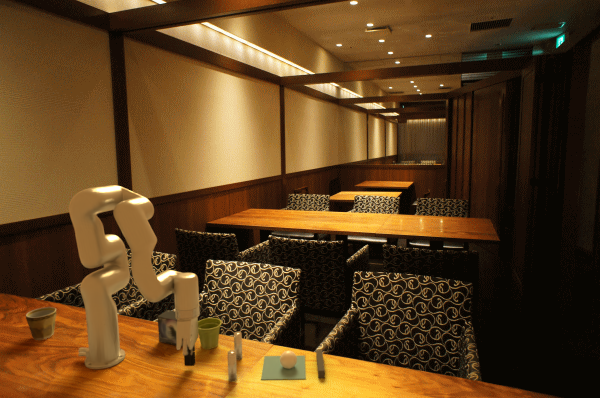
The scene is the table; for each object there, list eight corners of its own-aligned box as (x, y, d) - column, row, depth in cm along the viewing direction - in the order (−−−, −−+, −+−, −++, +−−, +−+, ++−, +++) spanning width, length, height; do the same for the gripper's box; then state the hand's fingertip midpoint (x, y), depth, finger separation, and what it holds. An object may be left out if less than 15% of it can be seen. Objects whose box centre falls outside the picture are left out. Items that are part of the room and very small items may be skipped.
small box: (157, 342, 149) (156, 316, 148) (169, 335, 155) (168, 309, 154) (180, 347, 145) (179, 320, 144) (191, 339, 151) (190, 313, 150)
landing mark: (261, 379, 124) (261, 379, 124) (264, 356, 138) (264, 356, 138) (305, 379, 124) (305, 378, 124) (304, 356, 138) (304, 355, 138)
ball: (280, 373, 128) (278, 357, 128) (281, 363, 134) (279, 348, 133) (297, 371, 128) (295, 355, 128) (297, 361, 134) (295, 346, 133)
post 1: (227, 381, 124) (226, 354, 123) (229, 376, 126) (228, 350, 125) (236, 381, 124) (235, 354, 123) (237, 376, 126) (236, 350, 125)
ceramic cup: (63, 334, 157) (61, 310, 155) (35, 345, 148) (33, 319, 147) (47, 327, 164) (44, 303, 162) (19, 336, 155) (17, 312, 154)
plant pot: (216, 353, 141) (215, 330, 140) (191, 350, 143) (190, 327, 142) (226, 340, 150) (225, 318, 149) (203, 338, 152) (202, 317, 151)
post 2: (234, 360, 136) (233, 335, 135) (235, 356, 139) (234, 331, 138) (241, 359, 136) (240, 335, 135) (242, 356, 139) (242, 331, 138)
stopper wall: (318, 378, 125) (318, 370, 125) (316, 356, 138) (316, 349, 138) (324, 378, 125) (324, 370, 125) (322, 356, 138) (322, 349, 138)
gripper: (182, 302, 136) (185, 353, 138) (168, 321, 121) (171, 377, 124) (204, 302, 136) (206, 352, 138) (193, 321, 121) (195, 377, 124)
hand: (190, 364), depth 131 cm, fingers closed
